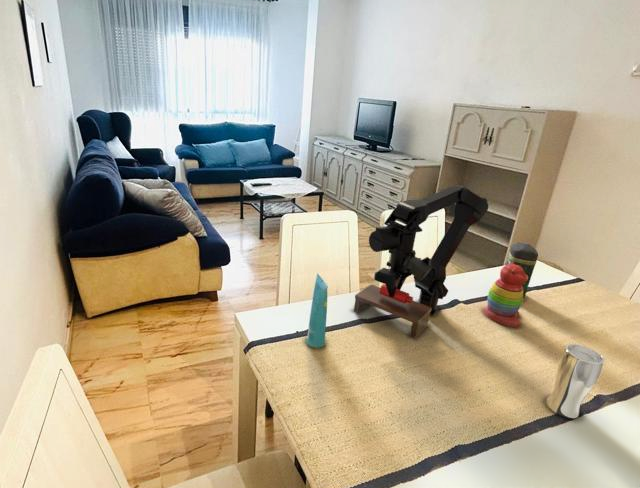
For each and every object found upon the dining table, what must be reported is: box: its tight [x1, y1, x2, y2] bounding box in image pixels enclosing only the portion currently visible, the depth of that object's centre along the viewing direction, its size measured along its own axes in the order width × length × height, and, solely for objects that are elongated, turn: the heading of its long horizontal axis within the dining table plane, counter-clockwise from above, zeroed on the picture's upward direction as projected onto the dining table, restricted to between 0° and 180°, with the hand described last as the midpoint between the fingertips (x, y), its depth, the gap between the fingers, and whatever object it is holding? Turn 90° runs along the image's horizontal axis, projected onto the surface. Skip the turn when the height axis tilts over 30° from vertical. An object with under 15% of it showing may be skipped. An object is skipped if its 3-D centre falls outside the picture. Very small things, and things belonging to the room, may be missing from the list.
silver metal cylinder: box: [546, 343, 605, 419], centre depth 84 cm, size 7×7×15 cm
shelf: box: [353, 283, 432, 339], centre depth 116 cm, size 10×20×6 cm, turn 49°
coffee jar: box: [505, 242, 539, 300], centre depth 133 cm, size 10×8×19 cm
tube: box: [306, 272, 329, 349], centre depth 101 cm, size 7×5×19 cm, turn 20°
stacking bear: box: [483, 262, 528, 328], centre depth 119 cm, size 11×10×18 cm
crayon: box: [379, 283, 414, 304], centre depth 114 cm, size 9×3×3 cm, turn 49°
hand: (394, 294), depth 115 cm, fingers closed on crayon, 3 cm apart
